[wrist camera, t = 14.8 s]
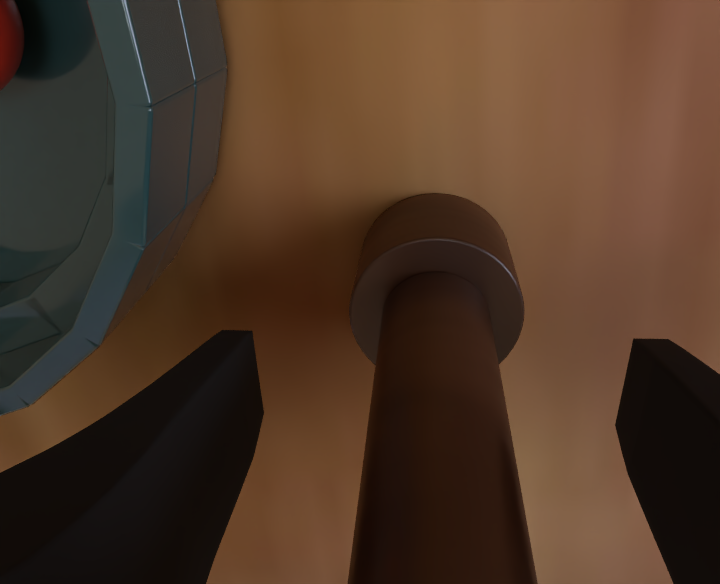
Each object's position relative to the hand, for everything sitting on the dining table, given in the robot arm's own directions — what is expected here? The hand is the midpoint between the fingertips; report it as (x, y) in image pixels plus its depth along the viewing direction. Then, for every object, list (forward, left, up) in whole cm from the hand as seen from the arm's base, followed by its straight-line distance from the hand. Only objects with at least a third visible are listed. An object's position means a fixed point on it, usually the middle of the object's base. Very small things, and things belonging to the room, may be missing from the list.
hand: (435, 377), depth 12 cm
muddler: (0, +1, -4) cm, 4 cm away
